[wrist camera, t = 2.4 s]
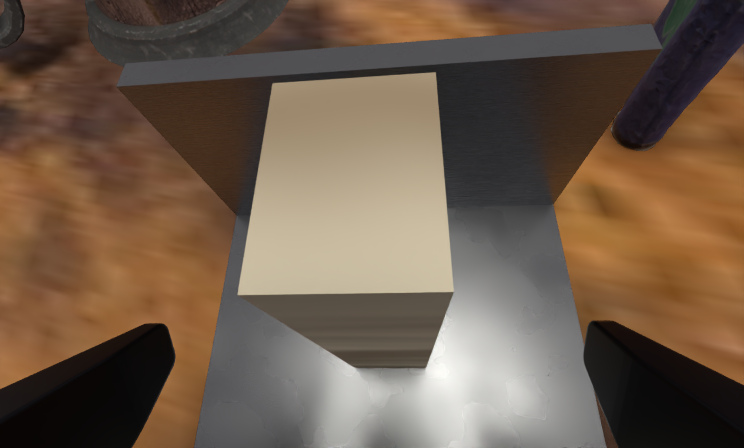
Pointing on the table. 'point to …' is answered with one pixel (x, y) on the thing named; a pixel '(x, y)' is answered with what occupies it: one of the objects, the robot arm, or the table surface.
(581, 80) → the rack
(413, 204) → the birch block
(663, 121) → the flask
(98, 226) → the table surface
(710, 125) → the table surface
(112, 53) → the tankard
